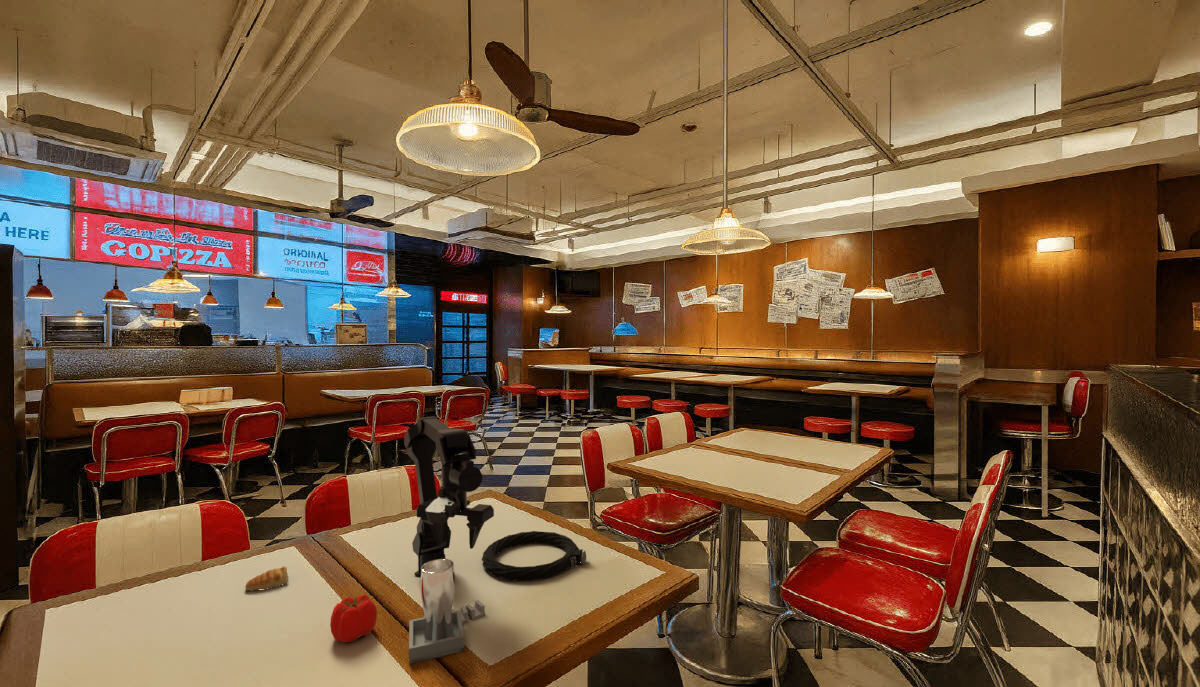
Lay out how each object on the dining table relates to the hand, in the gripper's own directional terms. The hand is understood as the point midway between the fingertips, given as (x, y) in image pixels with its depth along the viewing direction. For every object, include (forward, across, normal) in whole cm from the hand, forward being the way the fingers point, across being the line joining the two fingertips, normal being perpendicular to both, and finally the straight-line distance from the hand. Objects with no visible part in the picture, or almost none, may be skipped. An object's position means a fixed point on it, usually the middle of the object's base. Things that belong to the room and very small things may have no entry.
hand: (455, 546), depth 119 cm
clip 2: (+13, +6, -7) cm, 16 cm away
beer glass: (+13, +6, -15) cm, 20 cm away
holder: (+13, +6, -16) cm, 21 cm away
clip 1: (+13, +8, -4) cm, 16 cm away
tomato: (+13, -13, -19) cm, 27 cm away
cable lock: (+14, +9, +25) cm, 30 cm away
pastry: (+13, -52, -8) cm, 54 cm away
